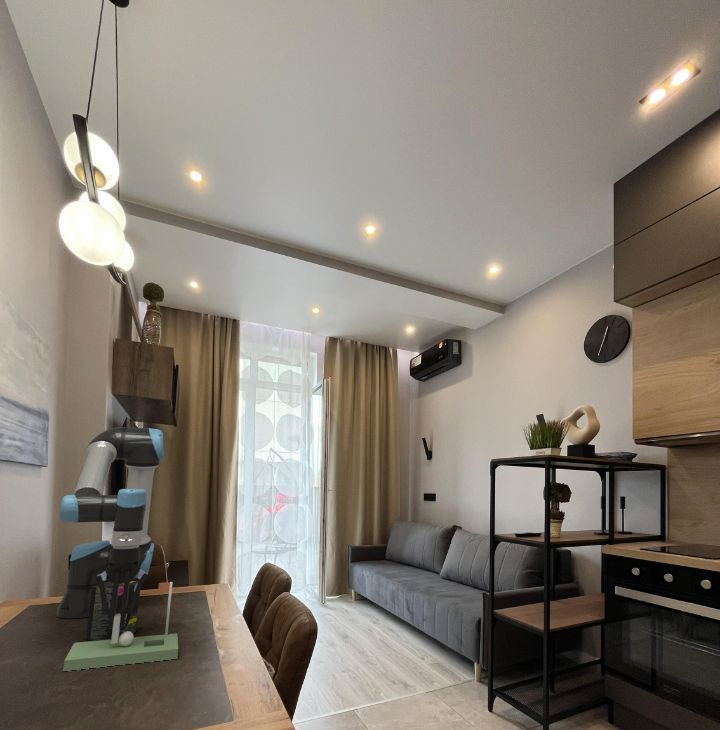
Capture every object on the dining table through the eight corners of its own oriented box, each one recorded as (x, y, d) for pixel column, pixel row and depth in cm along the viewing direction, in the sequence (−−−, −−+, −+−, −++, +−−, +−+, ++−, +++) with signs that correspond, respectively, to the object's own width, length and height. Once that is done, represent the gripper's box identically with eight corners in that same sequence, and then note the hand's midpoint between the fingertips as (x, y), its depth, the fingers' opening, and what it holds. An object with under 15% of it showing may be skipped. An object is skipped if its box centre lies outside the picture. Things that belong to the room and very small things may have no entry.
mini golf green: (72, 653, 129) (82, 586, 133) (176, 643, 139) (182, 581, 142) (62, 672, 117) (73, 597, 121) (177, 659, 126) (183, 591, 130)
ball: (137, 636, 131) (125, 647, 129) (128, 626, 131) (116, 637, 129) (135, 640, 128) (124, 651, 126) (127, 630, 128) (115, 641, 126)
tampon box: (112, 643, 138) (118, 587, 141) (84, 640, 140) (91, 585, 143) (136, 631, 148) (142, 580, 152) (110, 629, 150) (116, 578, 154)
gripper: (97, 549, 127) (84, 648, 122) (151, 547, 132) (140, 643, 126) (101, 545, 134) (89, 639, 129) (152, 544, 139) (142, 635, 133)
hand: (114, 641), depth 128 cm, fingers closed
